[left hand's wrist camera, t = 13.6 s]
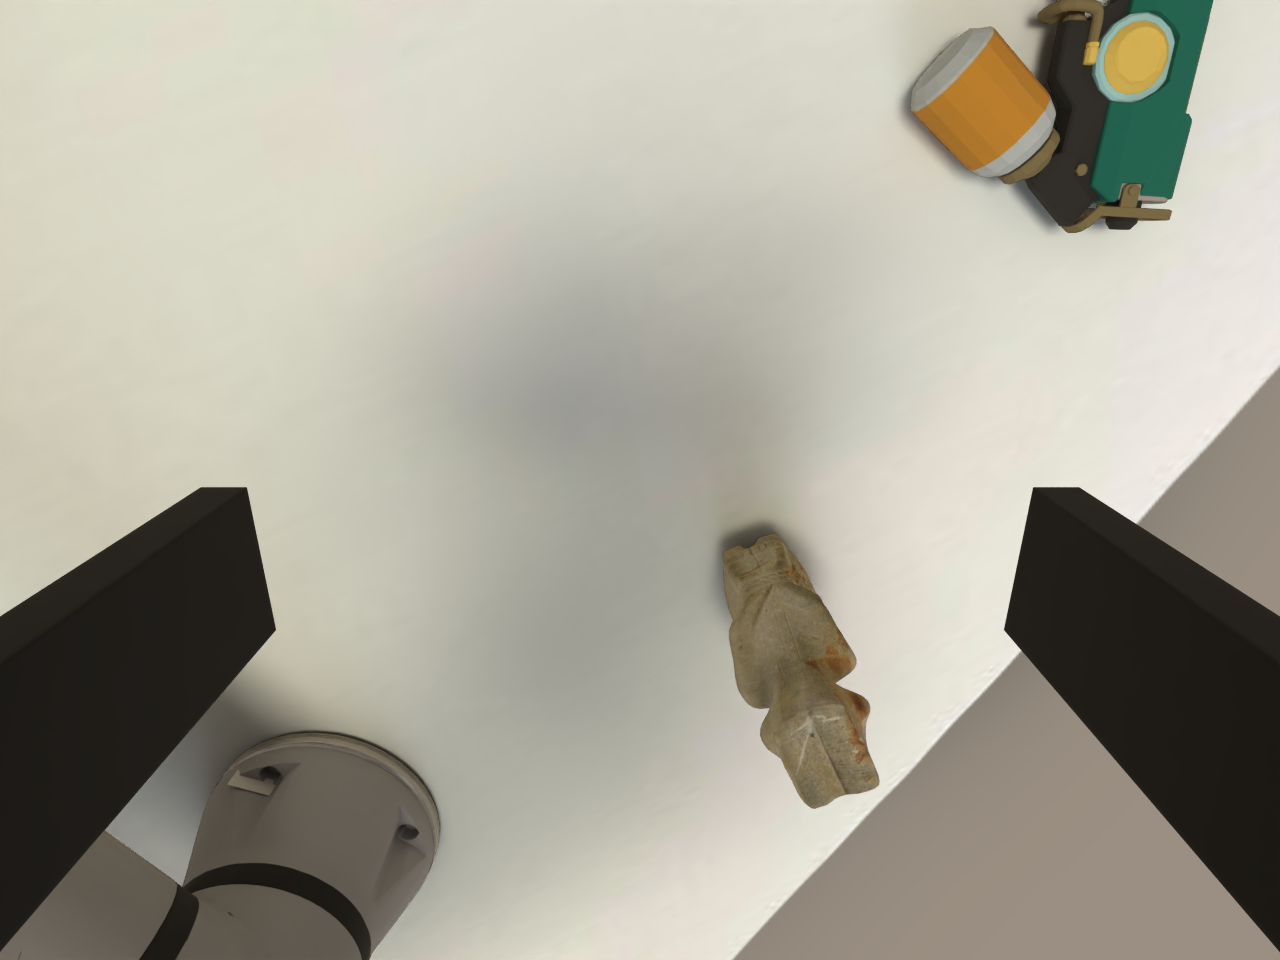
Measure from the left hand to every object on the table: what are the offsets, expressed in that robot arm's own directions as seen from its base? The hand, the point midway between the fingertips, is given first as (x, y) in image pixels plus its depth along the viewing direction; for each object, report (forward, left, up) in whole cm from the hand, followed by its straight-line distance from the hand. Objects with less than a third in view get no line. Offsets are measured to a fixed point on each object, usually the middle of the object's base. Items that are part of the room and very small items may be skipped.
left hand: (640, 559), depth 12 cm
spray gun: (+22, -10, -28) cm, 37 cm away
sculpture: (-10, -14, -28) cm, 33 cm away
